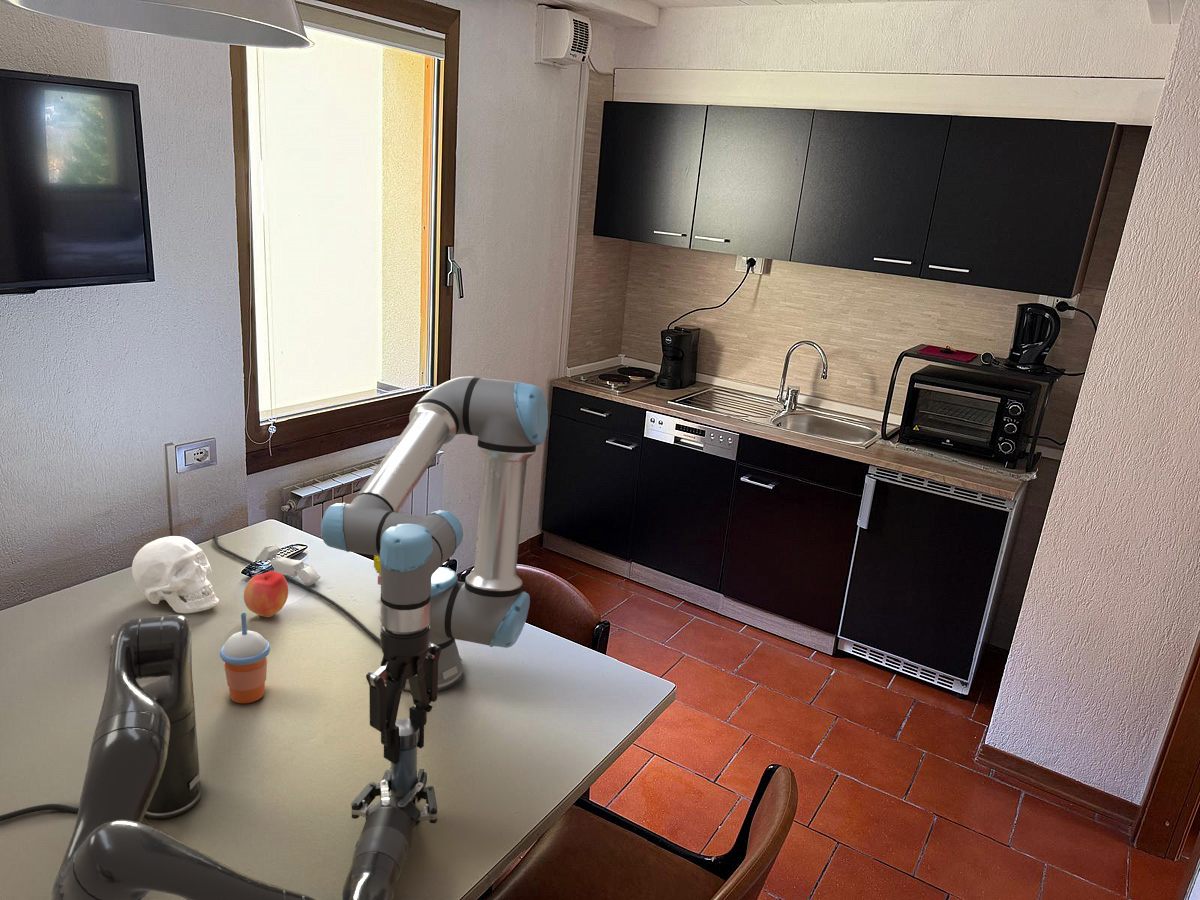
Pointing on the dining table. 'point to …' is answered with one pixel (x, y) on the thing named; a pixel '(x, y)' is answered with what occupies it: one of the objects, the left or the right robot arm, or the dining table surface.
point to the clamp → (288, 565)
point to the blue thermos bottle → (404, 771)
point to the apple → (266, 593)
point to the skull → (174, 574)
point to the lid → (408, 732)
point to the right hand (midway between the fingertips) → (404, 751)
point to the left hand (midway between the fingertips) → (407, 772)
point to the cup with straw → (245, 664)
